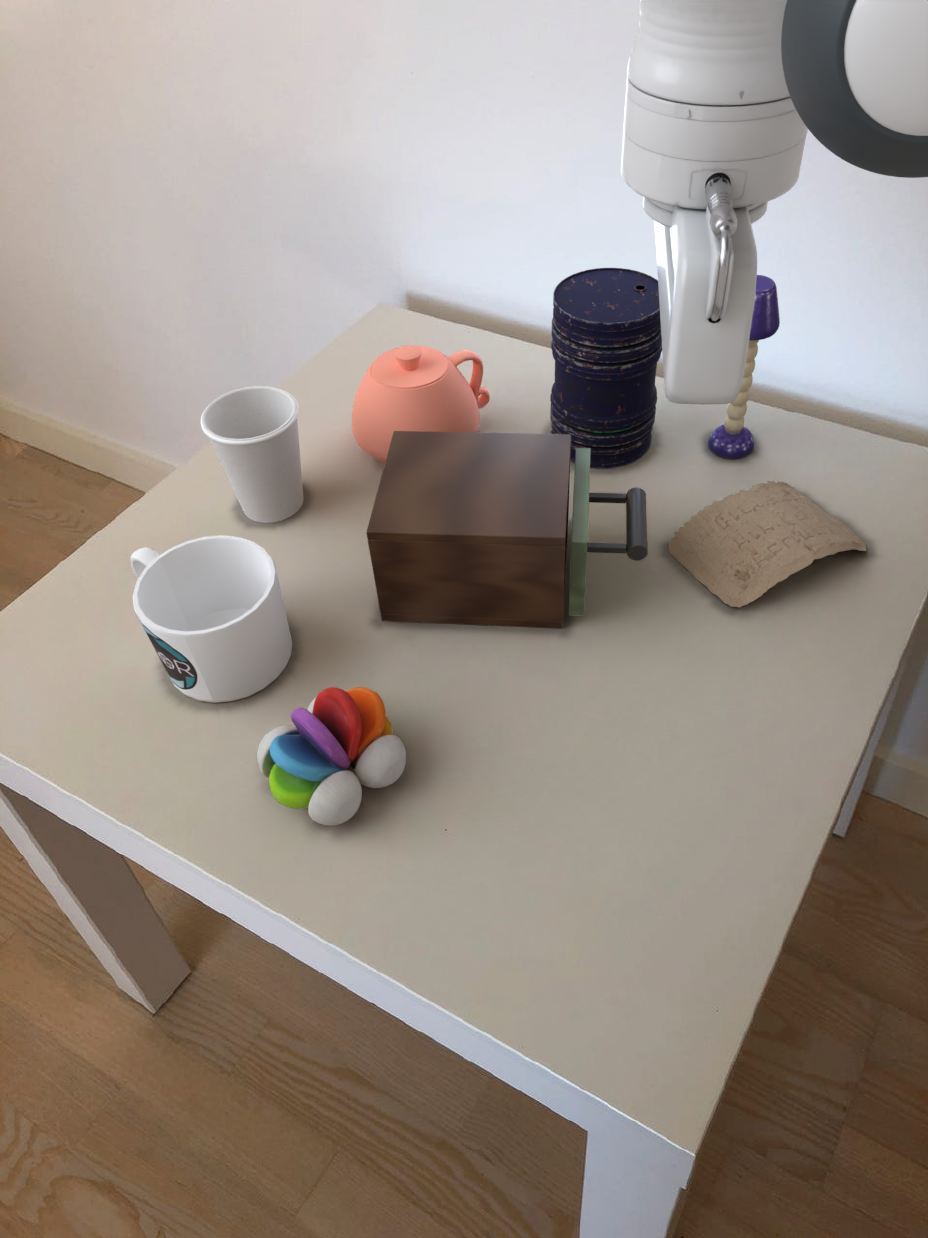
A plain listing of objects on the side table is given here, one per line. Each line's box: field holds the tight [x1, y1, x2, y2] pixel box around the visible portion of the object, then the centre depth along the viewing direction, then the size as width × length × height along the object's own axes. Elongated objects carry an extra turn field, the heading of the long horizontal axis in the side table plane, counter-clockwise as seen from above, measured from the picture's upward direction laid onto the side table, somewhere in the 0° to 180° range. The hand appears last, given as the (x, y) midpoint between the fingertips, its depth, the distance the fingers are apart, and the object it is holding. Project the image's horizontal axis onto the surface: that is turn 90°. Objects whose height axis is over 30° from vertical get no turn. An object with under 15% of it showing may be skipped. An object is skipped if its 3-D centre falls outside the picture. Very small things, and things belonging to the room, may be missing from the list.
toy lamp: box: [707, 274, 781, 460], centre depth 83 cm, size 5×5×17 cm
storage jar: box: [549, 267, 662, 470], centre depth 86 cm, size 10×10×15 cm
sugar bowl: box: [351, 344, 491, 465], centre depth 89 cm, size 12×14×10 cm
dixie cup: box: [200, 385, 304, 524], centre depth 84 cm, size 8×8×10 cm
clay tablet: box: [667, 480, 867, 608], centre depth 79 cm, size 14×10×3 cm
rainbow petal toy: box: [256, 686, 407, 827], centre depth 64 cm, size 8×10×7 cm
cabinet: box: [366, 431, 571, 630], centre depth 76 cm, size 15×13×10 cm
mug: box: [129, 534, 293, 704], centre depth 72 cm, size 13×10×8 cm
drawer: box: [568, 448, 649, 617], centre depth 76 cm, size 18×11×8 cm, turn 84°
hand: (681, 381), depth 57 cm, fingers closed
